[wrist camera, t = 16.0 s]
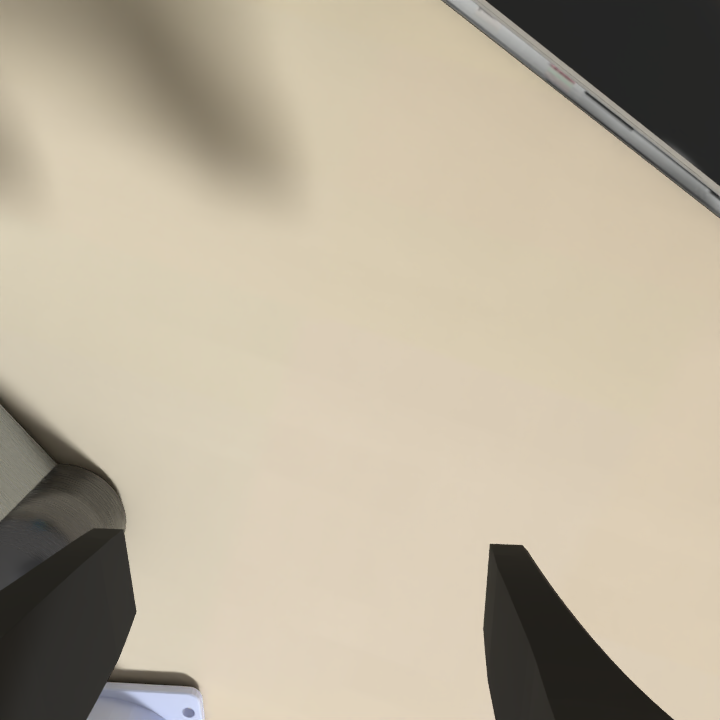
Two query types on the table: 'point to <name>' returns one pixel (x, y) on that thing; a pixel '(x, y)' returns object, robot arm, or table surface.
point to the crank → (45, 502)
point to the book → (627, 72)
